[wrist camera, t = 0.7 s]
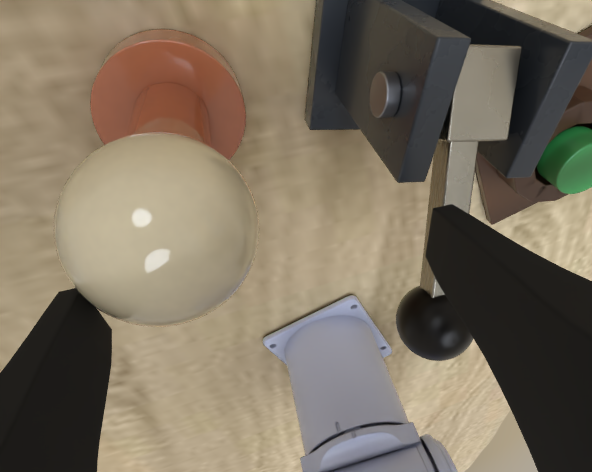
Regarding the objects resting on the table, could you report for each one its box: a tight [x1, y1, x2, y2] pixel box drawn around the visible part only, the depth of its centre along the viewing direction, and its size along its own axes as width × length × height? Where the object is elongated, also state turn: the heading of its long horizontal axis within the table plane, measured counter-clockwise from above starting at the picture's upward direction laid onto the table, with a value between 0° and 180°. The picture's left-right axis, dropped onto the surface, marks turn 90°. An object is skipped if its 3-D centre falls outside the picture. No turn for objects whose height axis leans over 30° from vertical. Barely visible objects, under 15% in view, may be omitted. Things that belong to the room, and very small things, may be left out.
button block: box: [475, 26, 592, 225], centre depth 23 cm, size 10×8×3 cm
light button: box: [537, 126, 592, 194], centre depth 22 cm, size 3×3×2 cm
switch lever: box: [396, 44, 522, 361], centre depth 15 cm, size 11×3×3 cm, turn 175°
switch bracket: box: [305, 0, 592, 183], centre depth 16 cm, size 8×7×9 cm
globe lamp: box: [54, 29, 259, 327], centre depth 14 cm, size 6×6×12 cm
